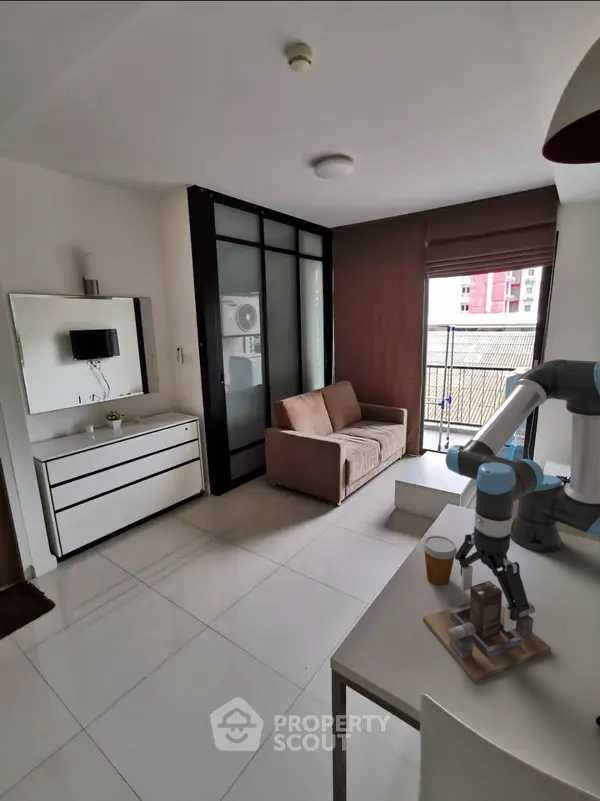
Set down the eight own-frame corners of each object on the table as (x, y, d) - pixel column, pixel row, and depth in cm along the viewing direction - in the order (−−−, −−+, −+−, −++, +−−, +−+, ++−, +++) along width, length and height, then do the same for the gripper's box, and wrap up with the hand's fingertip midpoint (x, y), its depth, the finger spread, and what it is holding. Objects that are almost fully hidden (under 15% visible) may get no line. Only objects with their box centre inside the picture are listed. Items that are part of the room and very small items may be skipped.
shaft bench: (492, 598, 105) (494, 574, 104) (553, 650, 88) (556, 623, 87) (420, 621, 98) (421, 596, 97) (471, 683, 81) (473, 654, 80)
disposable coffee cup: (457, 591, 108) (460, 554, 106) (423, 588, 110) (424, 551, 108) (451, 570, 117) (453, 535, 115) (419, 567, 119) (421, 533, 117)
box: (485, 620, 96) (489, 579, 94) (500, 634, 92) (504, 591, 90) (466, 627, 94) (469, 585, 92) (480, 641, 90) (484, 598, 88)
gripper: (442, 507, 98) (439, 578, 102) (526, 566, 74) (518, 654, 79) (466, 502, 100) (462, 571, 105) (555, 557, 77) (545, 643, 81)
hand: (486, 607), depth 92 cm, fingers open, 13 cm apart
